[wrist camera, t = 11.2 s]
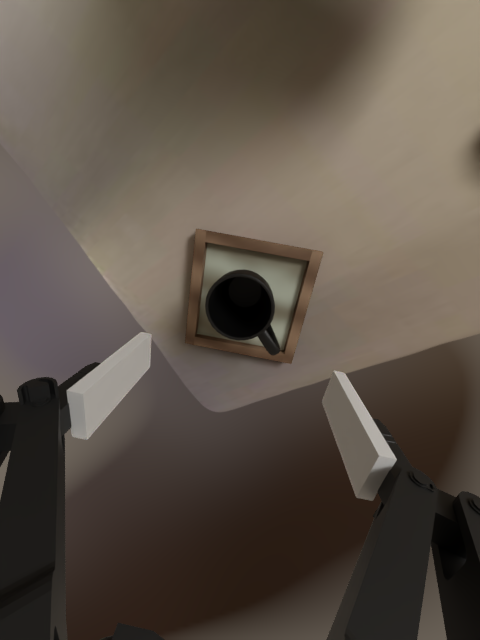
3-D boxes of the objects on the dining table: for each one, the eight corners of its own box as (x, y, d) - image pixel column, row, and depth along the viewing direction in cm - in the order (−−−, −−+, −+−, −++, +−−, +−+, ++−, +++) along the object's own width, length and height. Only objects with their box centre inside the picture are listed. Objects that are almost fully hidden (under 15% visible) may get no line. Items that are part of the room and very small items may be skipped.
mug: (251, 342, 38) (248, 374, 29) (208, 283, 35) (190, 299, 27) (294, 317, 36) (305, 344, 27) (252, 252, 33) (249, 258, 24)
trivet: (199, 229, 34) (195, 228, 32) (319, 251, 33) (323, 252, 31) (188, 337, 40) (185, 343, 38) (289, 357, 40) (291, 363, 38)
